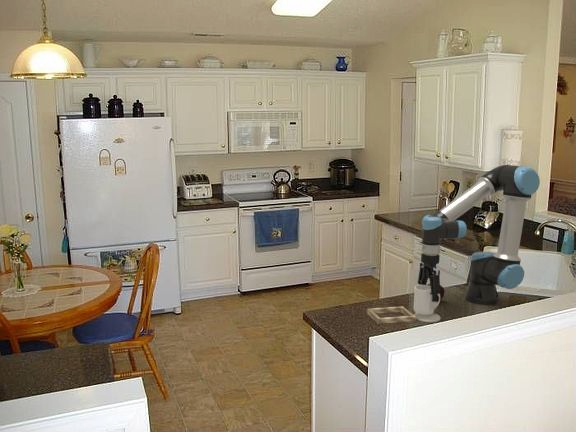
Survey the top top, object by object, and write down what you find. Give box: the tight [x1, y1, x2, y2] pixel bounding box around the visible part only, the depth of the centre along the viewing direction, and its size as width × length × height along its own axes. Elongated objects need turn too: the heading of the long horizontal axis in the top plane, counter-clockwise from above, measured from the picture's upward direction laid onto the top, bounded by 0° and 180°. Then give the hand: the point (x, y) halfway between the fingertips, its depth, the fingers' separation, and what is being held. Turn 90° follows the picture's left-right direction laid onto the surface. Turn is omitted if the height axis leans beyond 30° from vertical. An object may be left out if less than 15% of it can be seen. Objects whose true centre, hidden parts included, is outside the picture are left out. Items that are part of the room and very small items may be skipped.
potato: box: [427, 283, 446, 303], centre depth 255 cm, size 9×12×9 cm
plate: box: [413, 312, 441, 324], centre depth 235 cm, size 11×11×1 cm
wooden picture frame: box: [366, 306, 417, 325], centre depth 236 cm, size 17×14×2 cm
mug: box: [412, 284, 441, 315], centre depth 234 cm, size 9×12×11 cm
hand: (427, 305), depth 234 cm, fingers closed on mug, 9 cm apart
